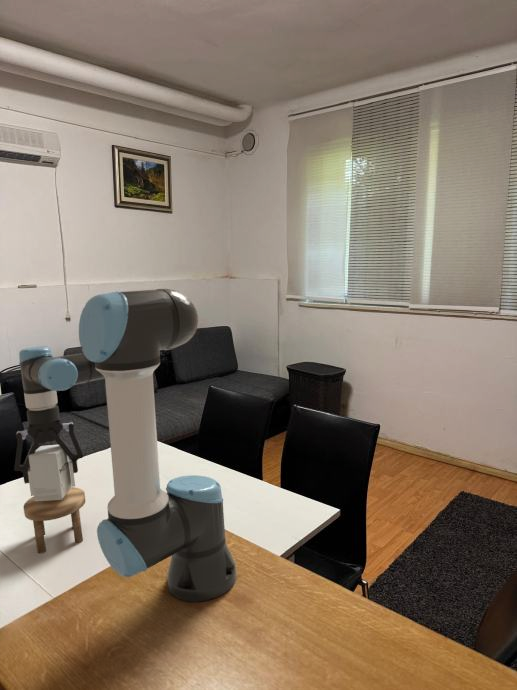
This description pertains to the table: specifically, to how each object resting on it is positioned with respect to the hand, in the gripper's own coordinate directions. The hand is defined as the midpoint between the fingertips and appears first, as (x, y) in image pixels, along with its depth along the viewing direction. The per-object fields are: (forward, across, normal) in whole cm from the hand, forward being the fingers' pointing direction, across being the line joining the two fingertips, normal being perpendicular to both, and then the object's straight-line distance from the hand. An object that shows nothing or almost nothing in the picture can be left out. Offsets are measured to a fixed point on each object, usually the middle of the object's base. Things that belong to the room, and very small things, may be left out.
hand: (53, 489), depth 126 cm
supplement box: (+2, 0, 0) cm, 2 cm away
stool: (+14, 0, 0) cm, 14 cm away
